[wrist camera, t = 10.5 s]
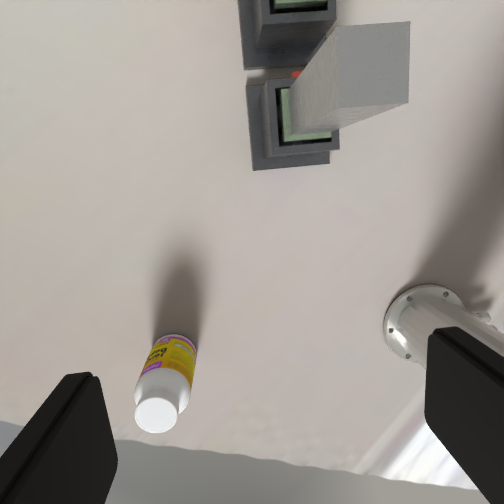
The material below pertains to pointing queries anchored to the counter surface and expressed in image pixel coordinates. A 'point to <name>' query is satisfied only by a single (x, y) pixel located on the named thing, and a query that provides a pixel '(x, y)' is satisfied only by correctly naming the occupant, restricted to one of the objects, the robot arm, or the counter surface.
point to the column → (348, 81)
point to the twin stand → (283, 31)
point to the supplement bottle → (165, 383)
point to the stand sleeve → (280, 131)
